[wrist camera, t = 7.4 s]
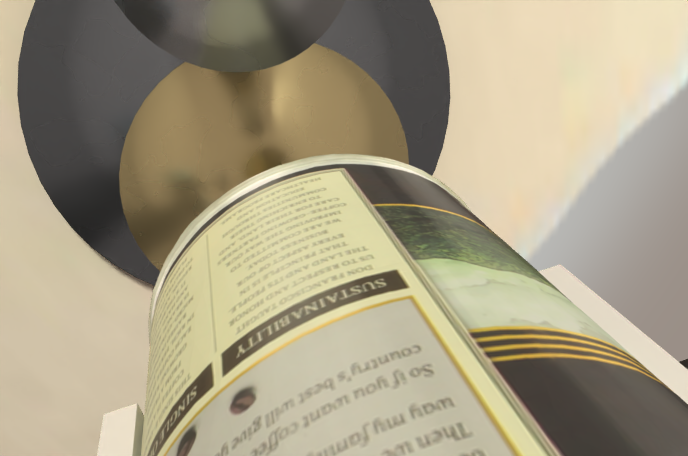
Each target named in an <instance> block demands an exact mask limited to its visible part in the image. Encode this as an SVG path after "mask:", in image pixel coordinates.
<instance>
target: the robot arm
mask: <svg viewBox="0 0 688 456" xmlns="http://www.w3.org/2000/svg"><path fill="white" fill-rule="evenodd" d="M538 272H539V273H540V274H542V275H543V276H544V277H545V278H546V279H547V280H548V281H549V282H550V283H552V284H553V285H554V286H555V287H556V288H557V289H558V290H559V291H560V292H561V293H562V294H564V295H565V296H566V297H567V298H568V299H569V300H570V301H571V302H572V303H573V304H574V305H576V306H577V307H578V308H579V309H581V310H582V311H583V312H584V313H585V314H586V315H587V316H589V317H590V318H591V319H592V320H593V321H594V322H595V323H596V324H598V325H599V326H600V327H601V328H602V329H603V330H604V331H605V332H607V333H608V334H609V335H610V336H611V337H612V338H613V339H615V340H616V341H617V342H618V343H619V344H620V345H621V346H622V347H623V348H625V349H626V350H627V351H628V352H629V353H630V354H631V355H632V356H633V357H635V358H636V359H637V360H638V361H639V362H640V363H641V364H642V365H643V366H645V367H646V368H647V369H648V370H649V371H650V372H651V373H652V374H654V375H655V376H656V377H657V378H658V379H659V380H661V381H662V382H663V383H664V384H665V385H666V386H668V387H669V388H670V389H671V390H672V391H673V392H674V393H676V394H677V395H678V396H679V397H680V398H681V399H682V400H684V401H685V402H686V403H687V404H688V359H686V360H683V361H681V362H678V361H677V360H675V359H674V358H673V357H672V356H670V355H669V354H668V353H667V352H666V351H664V350H663V349H662V348H661V347H660V346H658V345H657V344H656V343H655V342H654V341H652V340H651V339H650V338H649V337H648V336H646V335H645V334H644V333H643V332H641V331H640V330H639V329H638V328H637V327H636V326H634V325H633V324H632V323H631V322H629V321H628V320H627V319H626V318H625V317H623V316H622V315H621V314H620V313H619V312H617V311H616V310H615V309H614V308H613V307H611V306H610V305H609V304H608V303H606V302H605V301H604V300H603V299H602V298H600V297H599V296H598V295H597V294H596V293H594V292H593V291H592V290H591V289H589V288H588V287H587V286H586V285H585V284H584V283H582V282H581V281H580V280H579V279H577V278H576V277H575V276H574V275H572V274H571V273H570V272H569V271H568V270H567V269H565V268H564V267H563V266H562V265H557V266H554V267H551V268H548V269H545V270H541V271H538ZM143 425H144V415H143V413H142V411H141V409H140V407H139V406H138V404H137V403H136V404H133V405H130V406H127V407H124V408H121V409H118V410H115V411H112V412H109V413H106V414H104V416H103V422H102V428H101V434H100V440H99V446H98V453H97V456H141V449H142V436H143Z"/></svg>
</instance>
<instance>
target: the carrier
mask: <svg viewBox="0 0 688 456" xmlns="http://www.w3.org/2000/svg"><path fill="white" fill-rule="evenodd" d="M18 103H19V112H20V120H21V127H22V130H23V134H24V138H25V142H26V146H27V149H28V153H29V156H30V158H31V161H32V163H33V165H34V168H35V170H36V172H37V175H38V177H39V180H40V182H41V183H42V185H43V187H44V189H45V190H46V192H47V194H48V195H49V197H50V199H51V200H52V202H53V204H54V205H55V207H56V208H57V209H58V211H59V212H60V213H61V215H62V216H63V217H64V218H65V220H66V221H67V222H68V223H69V225H70V226H71V227H72V228H73V229H74V230H75V231H76V232H77V233H78V234H79V235H80V236H81V237H82V238H83V239H84V240H85V241H86V242H87V243H88V244H89V245H90V246H91V247H92V248H93V249H94V250H96V251H97V252H98V253H100V254H101V255H102V256H104V257H105V258H106V259H107V260H109V261H110V262H111V263H113V264H114V265H116V266H118V267H119V268H121V269H123V270H124V271H126V272H128V273H129V274H131V275H133V276H135V277H136V278H139V279H141V280H143V281H145V282H148V283H150V284H152V285H156V282H157V279H158V276H159V274H160V271H161V269H162V267H163V264H164V262H165V260H166V258H167V257H168V255H169V253H170V252H171V250H172V249H173V247H174V246H175V244H176V242H177V241H178V239H179V238H180V236H181V235H182V233H183V232H184V231H185V229H186V228H187V227H188V225H189V224H190V223H191V222H192V221H193V220H194V219H195V218H196V217H197V216H198V215H199V214H201V213H202V212H203V211H204V210H205V209H206V208H207V207H209V206H210V205H211V204H212V203H213V202H215V201H216V200H217V199H219V198H220V197H221V196H222V195H224V194H225V193H226V192H228V191H229V190H231V189H232V188H234V187H235V186H237V185H239V184H240V183H242V182H244V181H246V180H247V179H249V178H251V177H253V176H255V175H257V174H260V173H262V172H264V171H266V170H269V169H271V168H274V167H276V166H279V165H282V164H286V163H289V162H293V161H296V160H300V159H303V158H307V157H312V156H319V155H329V154H361V155H371V156H377V157H383V158H388V159H393V160H396V161H399V162H402V163H405V164H408V165H411V166H413V167H416V168H418V169H421V170H423V171H424V172H426V173H428V174H429V175H431V176H432V175H433V173H434V171H435V168H436V165H437V162H438V159H439V156H440V153H441V151H442V148H443V143H444V139H445V134H446V129H447V124H448V116H449V104H450V79H449V67H448V61H447V54H446V48H445V44H444V40H443V37H442V33H441V30H440V26H439V23H438V20H437V17H436V15H435V13H434V10H433V8H432V6H431V3H430V1H429V0H35V3H34V6H33V9H32V12H31V14H30V17H29V20H28V23H27V26H26V29H25V31H24V37H23V42H22V47H21V53H20V58H19V65H18Z"/></svg>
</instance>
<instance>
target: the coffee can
mask: <svg viewBox="0 0 688 456" xmlns="http://www.w3.org/2000/svg"><path fill="white" fill-rule="evenodd" d="M149 343H150V353H149V365H148V377H147V391H146V403H145V414H144V425H143V436H142V449H141V456H688V404H687V403H686V402H685V401H684V400H682V399H681V398H680V397H679V396H678V395H677V394H676V393H674V392H673V391H672V390H671V389H670V388H669V387H668V386H666V385H665V384H664V383H663V382H662V381H661V380H659V379H658V378H657V377H656V376H655V375H654V374H652V373H651V372H650V371H649V370H648V369H647V368H646V367H645V366H643V365H642V364H641V363H640V362H639V361H638V360H637V359H636V358H635V357H633V356H632V355H631V354H630V353H629V352H628V351H627V350H626V349H625V348H623V347H622V346H621V345H620V344H619V343H618V342H617V341H616V340H615V339H613V338H612V337H611V336H610V335H609V334H608V333H607V332H605V331H604V330H603V329H602V328H601V327H600V326H599V325H598V324H596V323H595V322H594V321H593V320H592V319H591V318H590V317H589V316H587V315H586V314H585V313H584V312H583V311H582V310H581V309H579V308H578V307H577V306H576V305H574V304H573V303H572V302H571V301H570V300H569V299H568V298H567V297H566V296H565V295H564V294H562V293H561V292H560V291H559V290H558V289H557V288H556V287H555V286H554V285H553V284H552V283H550V282H549V281H548V280H547V279H546V278H545V277H544V276H543V275H542V274H540V273H539V272H538V271H537V270H536V269H535V268H534V267H533V266H532V265H530V264H529V263H528V262H527V261H526V260H525V259H524V258H522V257H521V256H520V255H519V254H518V253H517V252H516V251H514V250H513V249H512V248H511V247H510V246H509V245H508V244H507V243H506V242H504V241H503V240H502V239H501V238H500V237H498V236H497V235H496V234H495V233H494V232H493V231H492V230H491V229H489V228H488V227H487V226H486V225H485V224H484V223H483V222H482V221H481V220H480V219H478V218H477V217H476V216H475V215H474V214H473V213H472V212H471V211H470V210H469V208H468V207H467V205H466V204H465V203H464V202H463V201H462V200H461V199H460V198H459V196H457V195H456V194H455V193H454V192H453V191H452V190H451V189H450V188H449V187H447V186H446V185H445V184H443V183H442V182H440V181H439V180H438V179H436V178H434V177H433V176H431V175H429V174H428V173H426V172H424V171H423V170H421V169H418V168H416V167H413V166H411V165H408V164H405V163H402V162H399V161H396V160H393V159H388V158H383V157H377V156H371V155H361V154H329V155H319V156H312V157H307V158H303V159H300V160H296V161H293V162H289V163H286V164H282V165H279V166H276V167H274V168H271V169H269V170H266V171H264V172H262V173H260V174H257V175H255V176H253V177H251V178H249V179H247V180H246V181H244V182H242V183H240V184H239V185H237V186H235V187H234V188H232V189H231V190H229V191H228V192H226V193H225V194H224V195H222V196H221V197H220V198H219V199H217V200H216V201H215V202H213V203H212V204H211V205H210V206H209V207H207V208H206V209H205V210H204V211H203V212H202V213H201V214H199V215H198V216H197V217H196V218H195V219H194V220H193V221H192V222H191V223H190V224H189V225H188V227H187V228H186V229H185V231H184V232H183V233H182V235H181V236H180V238H179V239H178V241H177V242H176V244H175V246H174V247H173V249H172V250H171V252H170V253H169V255H168V257H167V258H166V260H165V262H164V264H163V267H162V269H161V271H160V274H159V276H158V279H157V282H156V285H155V287H154V289H153V294H152V300H151V305H150V313H149Z"/></svg>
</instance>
